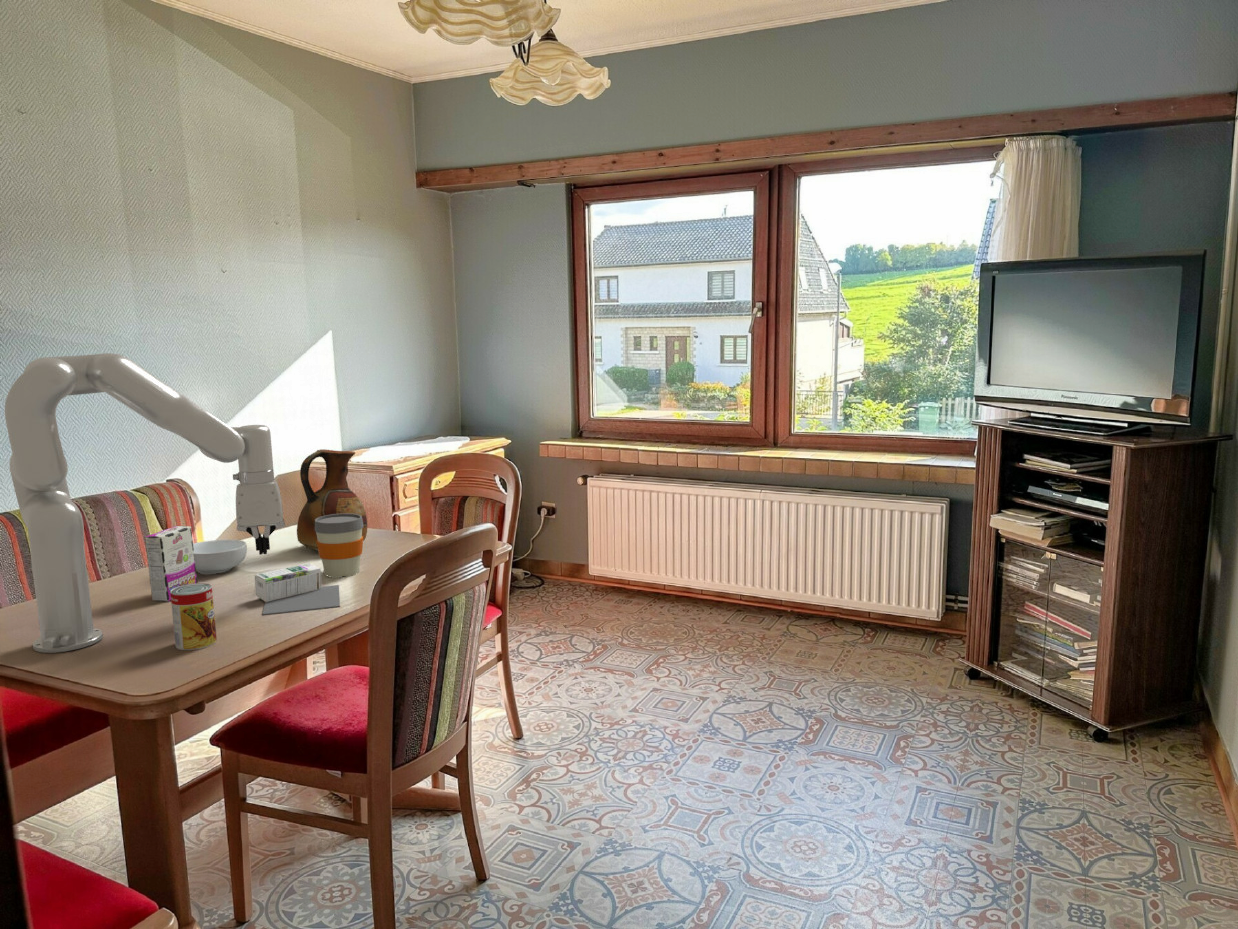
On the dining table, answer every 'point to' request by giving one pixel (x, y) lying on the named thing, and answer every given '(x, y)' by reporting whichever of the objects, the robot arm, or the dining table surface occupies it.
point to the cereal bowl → (218, 555)
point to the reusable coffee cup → (340, 543)
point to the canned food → (193, 616)
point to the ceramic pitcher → (327, 495)
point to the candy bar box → (170, 561)
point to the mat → (305, 601)
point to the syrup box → (287, 582)
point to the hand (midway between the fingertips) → (263, 553)
